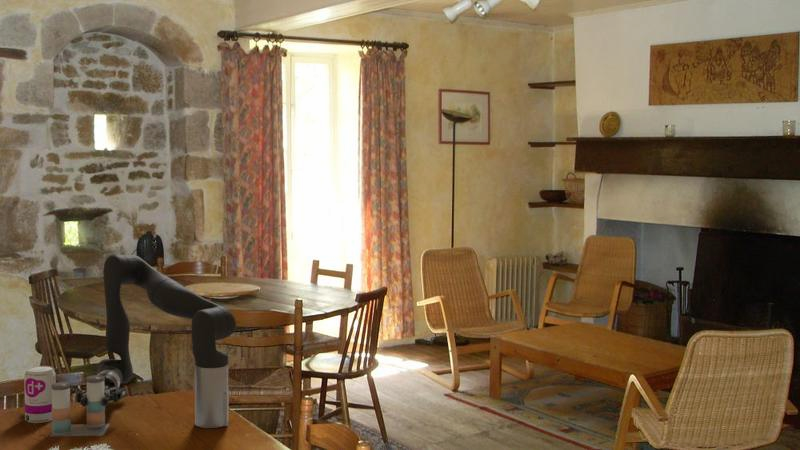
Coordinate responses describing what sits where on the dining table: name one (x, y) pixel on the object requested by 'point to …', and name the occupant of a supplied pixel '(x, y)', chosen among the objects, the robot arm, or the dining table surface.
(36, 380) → the supplement can
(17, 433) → the dining table surface
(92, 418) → the slim tube
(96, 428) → the slate card
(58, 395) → the twin tube
